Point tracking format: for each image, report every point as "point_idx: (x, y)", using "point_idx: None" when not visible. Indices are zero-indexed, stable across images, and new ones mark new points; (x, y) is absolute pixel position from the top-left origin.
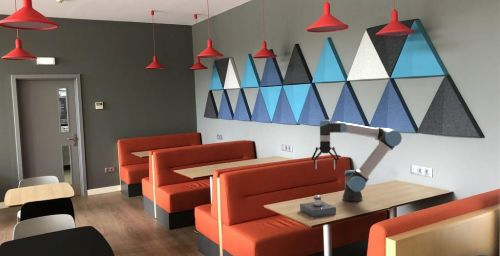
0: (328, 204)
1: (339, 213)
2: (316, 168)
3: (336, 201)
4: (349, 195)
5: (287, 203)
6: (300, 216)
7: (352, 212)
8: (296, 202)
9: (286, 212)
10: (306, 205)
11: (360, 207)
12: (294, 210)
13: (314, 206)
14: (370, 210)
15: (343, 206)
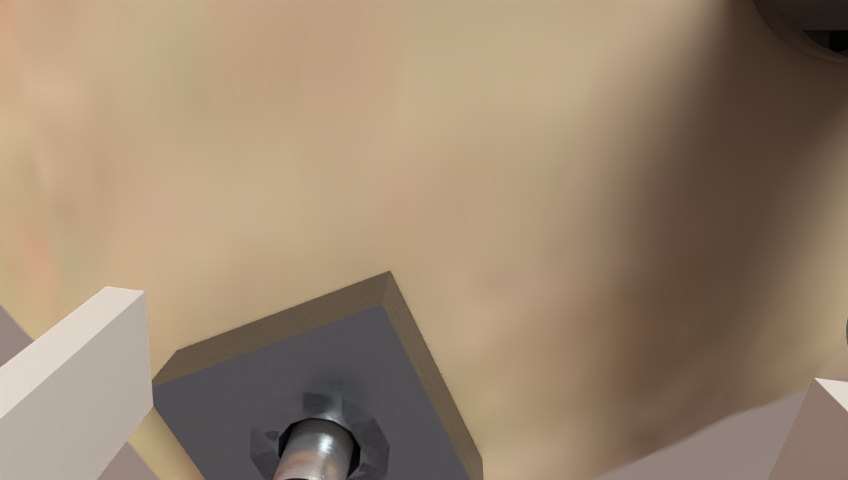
0: (432, 430)
1: (519, 434)
2: (131, 424)
3: (625, 11)
4: (844, 28)
5: (14, 55)
6: (187, 470)
7: (643, 421)
8: (116, 17)
9: None
10: (210, 436)
11: (795, 286)
12: None
13: None
14: None
15: (632, 235)
